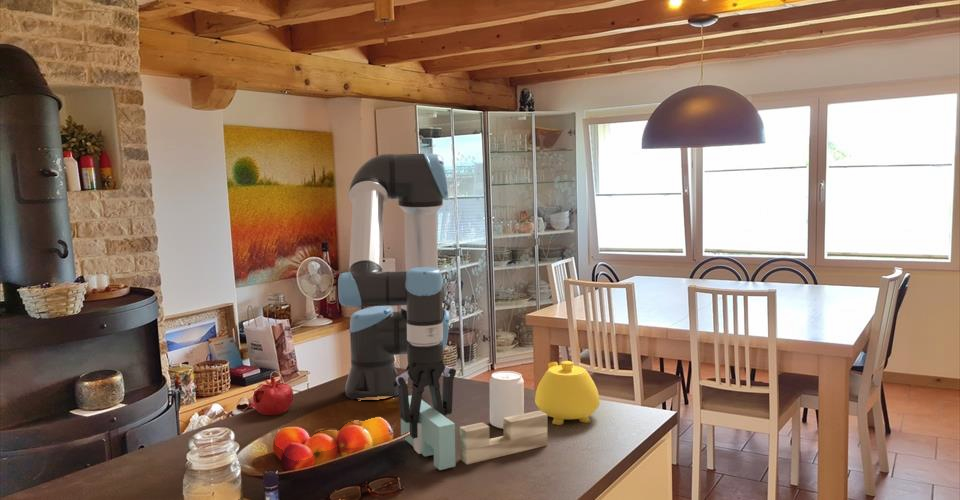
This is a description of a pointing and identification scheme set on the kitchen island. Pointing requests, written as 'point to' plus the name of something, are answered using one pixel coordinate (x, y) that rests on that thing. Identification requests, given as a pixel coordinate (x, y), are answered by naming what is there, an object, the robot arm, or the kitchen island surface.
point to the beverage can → (505, 396)
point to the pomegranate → (273, 397)
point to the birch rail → (503, 437)
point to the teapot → (567, 393)
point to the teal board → (434, 436)
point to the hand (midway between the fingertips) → (427, 449)
